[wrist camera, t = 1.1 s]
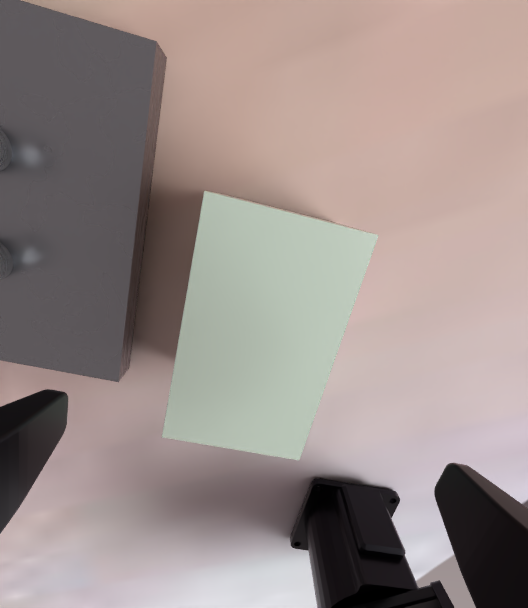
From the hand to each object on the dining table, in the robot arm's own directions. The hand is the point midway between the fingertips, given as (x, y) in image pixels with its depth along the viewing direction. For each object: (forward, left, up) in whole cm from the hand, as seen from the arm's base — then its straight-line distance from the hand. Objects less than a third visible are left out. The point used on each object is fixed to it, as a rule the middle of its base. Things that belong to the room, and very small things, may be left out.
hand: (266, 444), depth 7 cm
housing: (0, 0, -11) cm, 11 cm away
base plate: (+2, +13, -11) cm, 17 cm away
